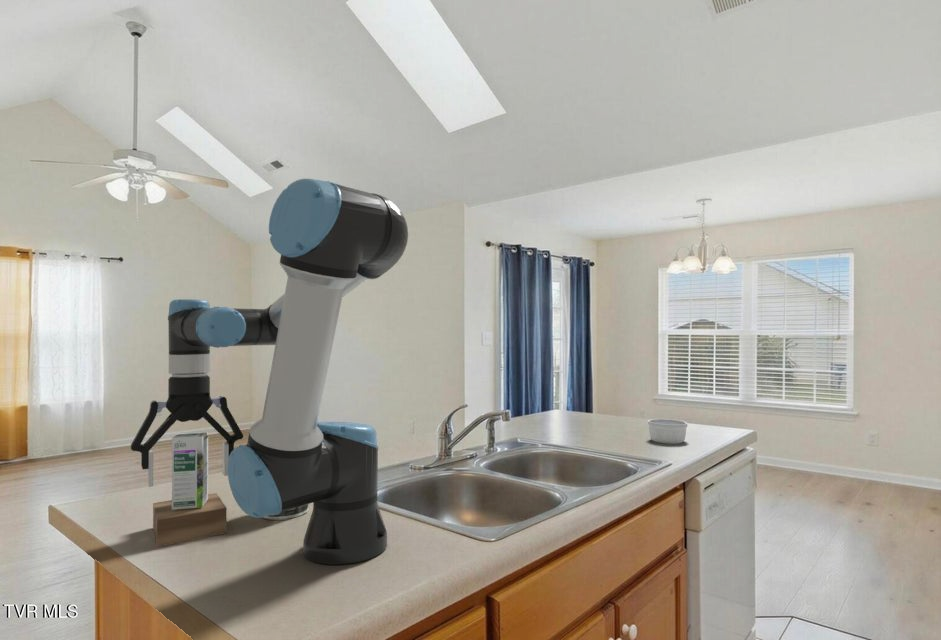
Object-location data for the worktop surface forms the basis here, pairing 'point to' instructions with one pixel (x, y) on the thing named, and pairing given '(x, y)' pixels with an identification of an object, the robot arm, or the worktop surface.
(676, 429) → the ramekin
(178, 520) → the plinth
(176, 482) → the syrup box
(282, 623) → the worktop surface
